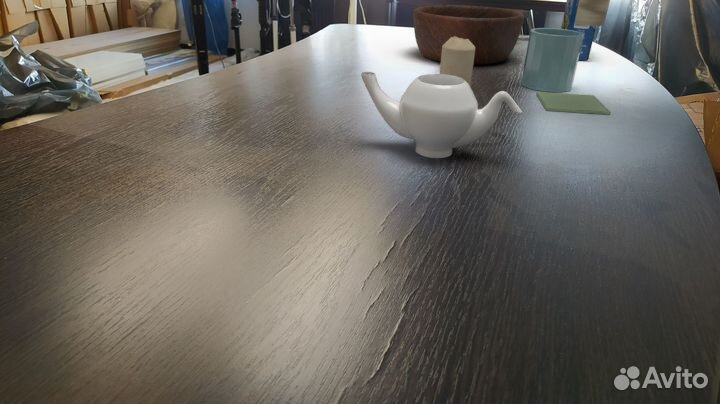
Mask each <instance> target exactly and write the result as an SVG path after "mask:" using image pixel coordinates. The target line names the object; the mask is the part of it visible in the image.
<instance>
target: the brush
mask: <svg viewBox="0 0 720 404" xmlns="http://www.w3.org/2000/svg"><path fill="white" fill-rule="evenodd" d="M610 2H611V0H579V4H578V9H577V13H576V18H575V23H576V24H579V25H587V26H596V27H603V26H604V25H605V22H606V19H607V15H608V10H609V6H610Z"/></svg>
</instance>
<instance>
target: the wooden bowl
mask: <svg viewBox="0 0 720 404" xmlns="http://www.w3.org/2000/svg"><path fill="white" fill-rule="evenodd" d="M412 14H413V16H412V17H413V30H414V32H413V33H414V38H415V41H416V45H417V48H418V50H419V52H420V54H421V55H422V56H423V57H425V58H427V59H429V60H432V61H437V62H441V55H442V46H443V45H444V44H445V43H446V42H447V41H448V40H449V39H450V38H451V37H454V36H456V37H458V38H463V39H469V41H470V42H471V43H472V44H473V45H474V46H475V55H474V63H473V66H475V65H478V66H479V65H493V64H498V63H501V62H503V61H505V60H506V59H508V58H509V56H510V55H511V53H512V52H513V50H514V49H515V46H516V45H517V43H518V40H519V37H520V35H521V31H522V28H523V24H524V21H525V14H523V13H522V12H520V11H517V10H512V9H507V8H502V7H490V6H481V5H464V4H463V5H462V4H461V5H460V4H439V5H438V4H437V5H436V4H435V5H425V6H419V7H416V8H415V9H414V10H413V13H412Z"/></svg>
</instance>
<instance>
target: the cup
mask: <svg viewBox="0 0 720 404" xmlns="http://www.w3.org/2000/svg"><path fill="white" fill-rule="evenodd" d="M583 36H584V34H583V33H582V32H578V31H573V30H567V29H561V28H554V27H537V28H532V29H530V30H529V35H528V41H527V47H526V53H525V59H524V64H523V70H522V76H521V86H523V87H525V88H527V89H529V90H530V89H531V90H534V91H537V92H547V93H564V92H565V93H566V92H569V91H571V90H572V87H573V84H574V81H575V76H576V72H577V67H578V63H579V60H578V59H579V54H580V50H581V45H582V41H583Z"/></svg>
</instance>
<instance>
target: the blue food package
mask: <svg viewBox="0 0 720 404" xmlns="http://www.w3.org/2000/svg"><path fill="white" fill-rule="evenodd" d="M578 4H579V0H566V2H565V8H564V11H563V17H562V22H561V27H560V29H567V30H573V31H578V32H582V33H583V34H584V36H583V41H582V45H581V50H580V54H579V59H578V61H589V60H590V59H589V58H590V54H591V50H592V46H593V42H594V38H595V33H596V28H597V26H587V25H579V24H576V23H575V18H576V13H577V9H578Z"/></svg>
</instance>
